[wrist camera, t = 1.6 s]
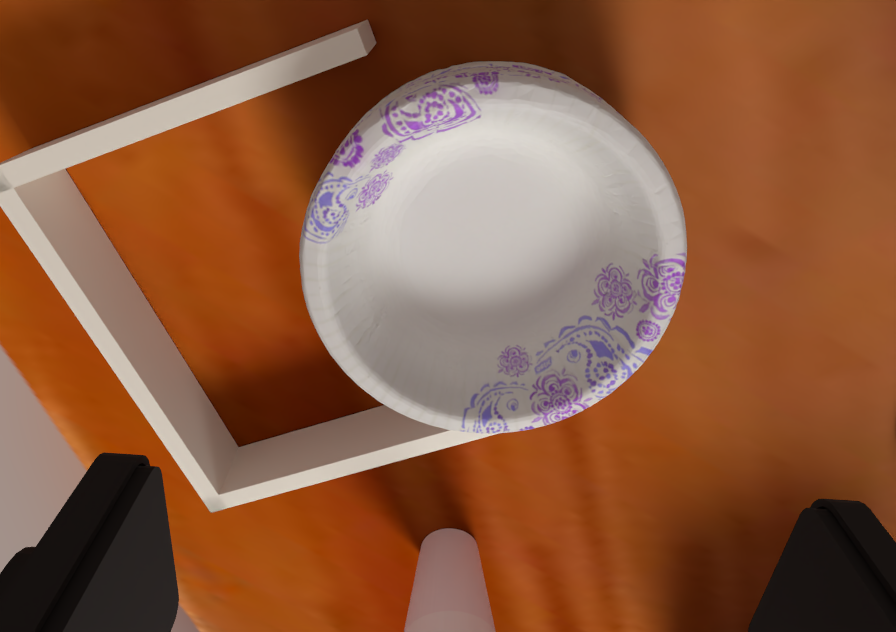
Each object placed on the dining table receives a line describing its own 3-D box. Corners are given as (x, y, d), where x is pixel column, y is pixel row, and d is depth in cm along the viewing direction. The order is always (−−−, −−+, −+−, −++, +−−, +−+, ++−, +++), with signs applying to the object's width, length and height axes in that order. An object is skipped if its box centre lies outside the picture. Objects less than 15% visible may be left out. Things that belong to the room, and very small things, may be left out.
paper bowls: (411, -19, 28) (400, -10, 21) (703, 147, 32) (776, 202, 25) (281, 274, 35) (240, 355, 28) (536, 387, 38) (556, 485, 31)
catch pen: (368, 19, 29) (356, 28, 25) (503, 386, 38) (509, 430, 34) (30, 148, 32) (-23, 173, 28) (231, 464, 40) (211, 512, 37)
